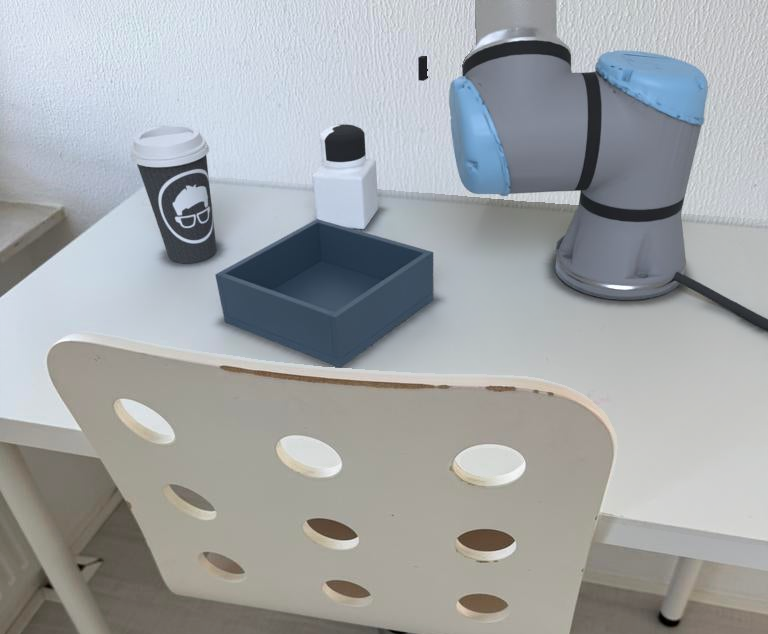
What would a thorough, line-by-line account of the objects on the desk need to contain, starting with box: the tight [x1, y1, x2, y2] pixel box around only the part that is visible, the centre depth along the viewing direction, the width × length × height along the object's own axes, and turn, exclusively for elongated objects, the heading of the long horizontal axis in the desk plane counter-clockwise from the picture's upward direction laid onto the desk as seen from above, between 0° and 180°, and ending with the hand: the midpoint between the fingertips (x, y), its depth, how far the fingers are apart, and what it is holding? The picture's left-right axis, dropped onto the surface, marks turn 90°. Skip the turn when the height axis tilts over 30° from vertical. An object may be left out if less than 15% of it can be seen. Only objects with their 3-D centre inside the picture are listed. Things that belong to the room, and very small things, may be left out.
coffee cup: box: [130, 124, 218, 264], centre depth 99 cm, size 10×10×15 cm
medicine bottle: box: [312, 123, 379, 230], centre depth 106 cm, size 7×7×12 cm
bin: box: [214, 218, 434, 368], centre depth 89 cm, size 18×18×6 cm
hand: (376, 64), depth 104 cm, fingers open, 13 cm apart
